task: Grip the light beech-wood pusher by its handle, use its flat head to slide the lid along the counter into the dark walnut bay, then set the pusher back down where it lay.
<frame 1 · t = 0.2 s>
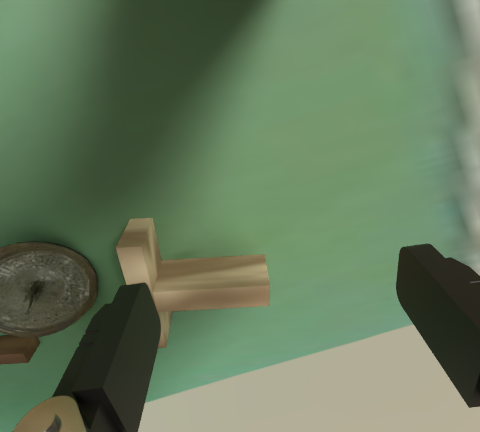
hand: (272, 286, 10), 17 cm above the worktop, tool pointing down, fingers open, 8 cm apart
wooden pusher: (153, 270, 32), on the worktop
lid: (48, 274, 32), on the worktop
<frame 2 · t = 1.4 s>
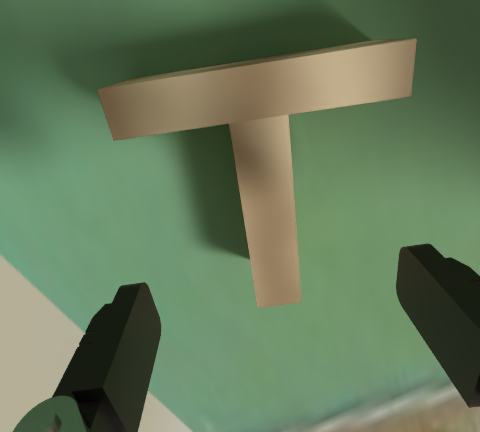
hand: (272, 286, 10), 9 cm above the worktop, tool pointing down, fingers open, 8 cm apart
wooden pusher: (250, 81, 16), on the worktop
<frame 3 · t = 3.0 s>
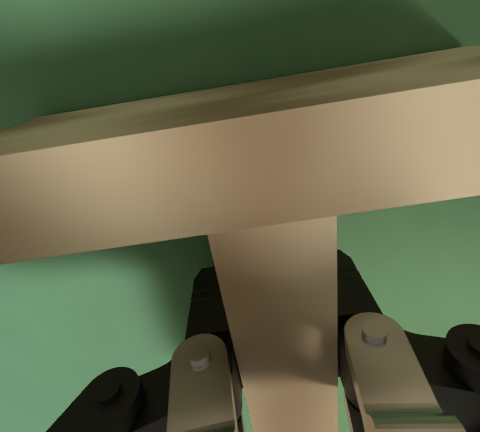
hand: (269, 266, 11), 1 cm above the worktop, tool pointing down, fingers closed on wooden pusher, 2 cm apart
wooden pusher: (250, 119, 9), on the worktop, touching gripper
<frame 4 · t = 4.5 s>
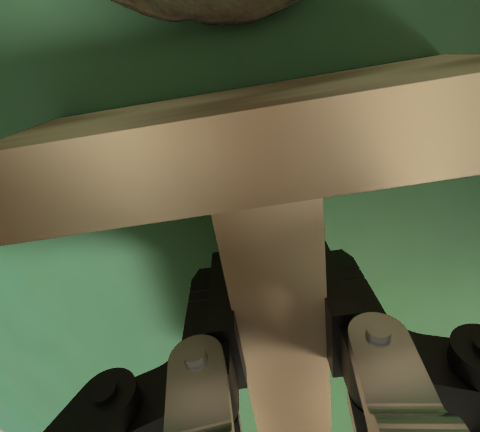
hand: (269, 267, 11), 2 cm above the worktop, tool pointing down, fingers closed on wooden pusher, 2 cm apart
wooden pusher: (249, 120, 10), on the worktop, touching gripper
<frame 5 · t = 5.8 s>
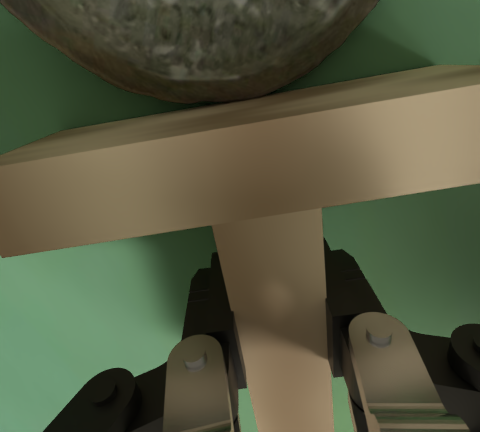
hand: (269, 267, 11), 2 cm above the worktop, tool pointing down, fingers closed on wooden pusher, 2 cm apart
wooden pusher: (249, 130, 10), on the worktop, touching gripper, lid
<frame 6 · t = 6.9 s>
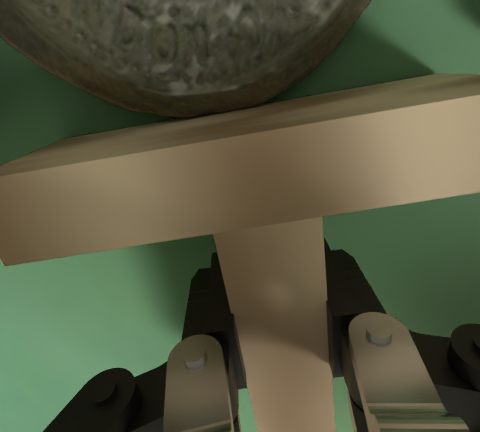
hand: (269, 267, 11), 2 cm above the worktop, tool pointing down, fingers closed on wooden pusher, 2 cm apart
wooden pusher: (250, 138, 11), on the worktop, touching gripper, lid
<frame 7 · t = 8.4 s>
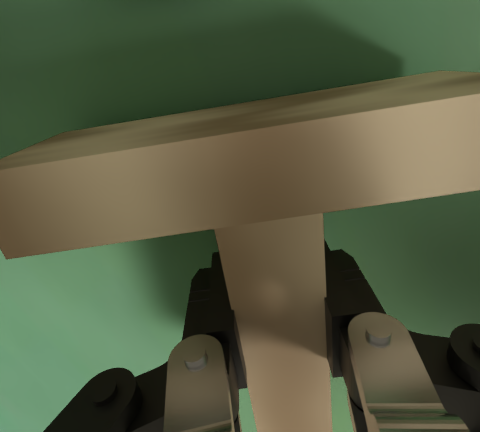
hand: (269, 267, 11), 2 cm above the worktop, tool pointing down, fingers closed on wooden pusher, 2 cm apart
wooden pusher: (251, 133, 11), point 1 cm above the worktop, touching gripper
when the fingers open (2 cm above the worktop, at t = 12.1 s): wooden pusher stays where it is, on the worktop.
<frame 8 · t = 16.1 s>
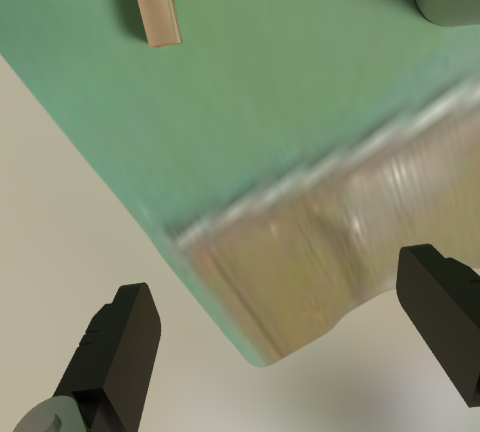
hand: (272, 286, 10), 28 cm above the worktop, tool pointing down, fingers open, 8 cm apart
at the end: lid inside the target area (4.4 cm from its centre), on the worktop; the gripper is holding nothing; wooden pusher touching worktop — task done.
